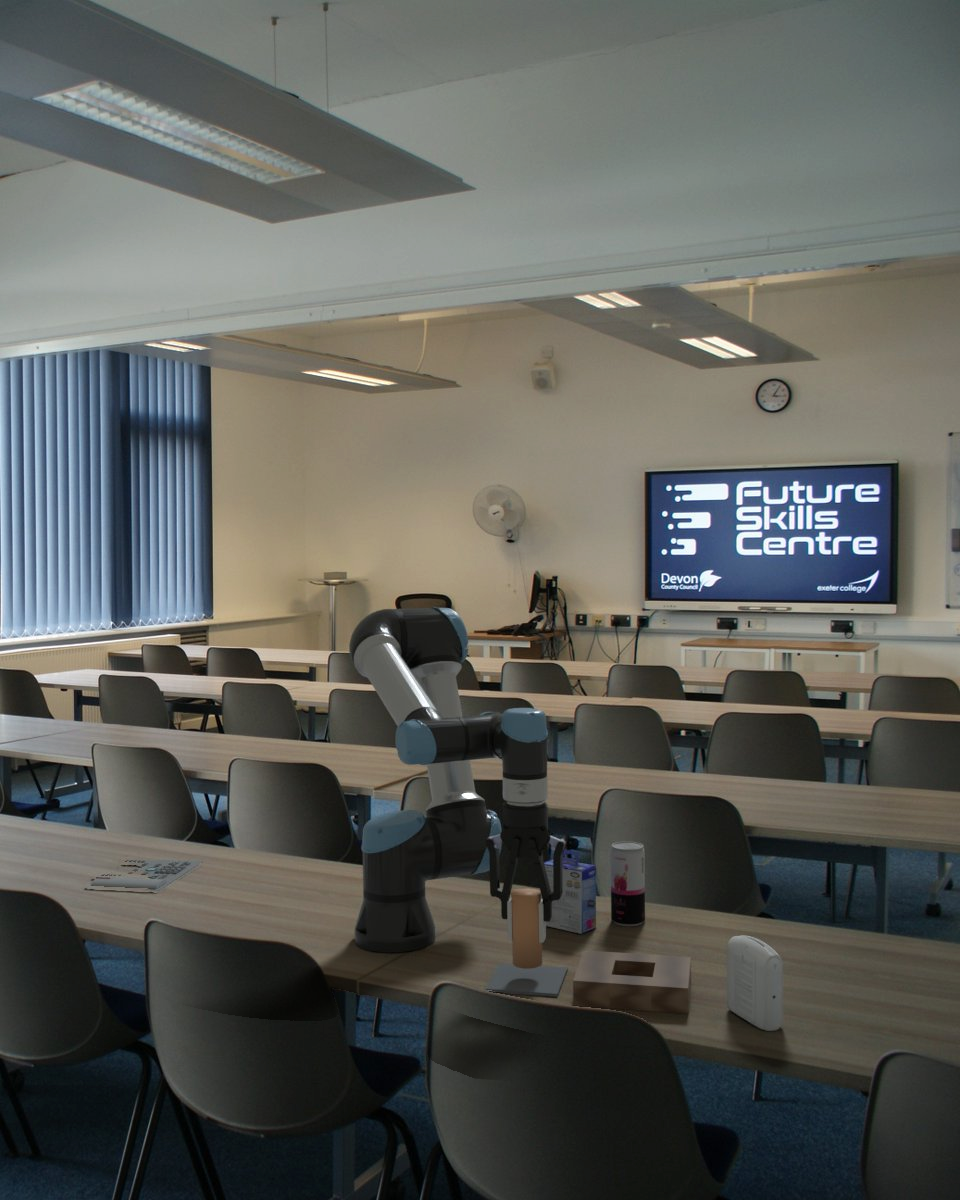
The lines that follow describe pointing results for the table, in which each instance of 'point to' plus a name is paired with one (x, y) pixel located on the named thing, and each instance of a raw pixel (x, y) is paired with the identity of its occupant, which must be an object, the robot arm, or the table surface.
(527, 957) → the peg
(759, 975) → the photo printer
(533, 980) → the mat
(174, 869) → the office telephone
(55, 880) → the table surface
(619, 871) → the beverage can
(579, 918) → the ink cartridge box
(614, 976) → the pocket block
